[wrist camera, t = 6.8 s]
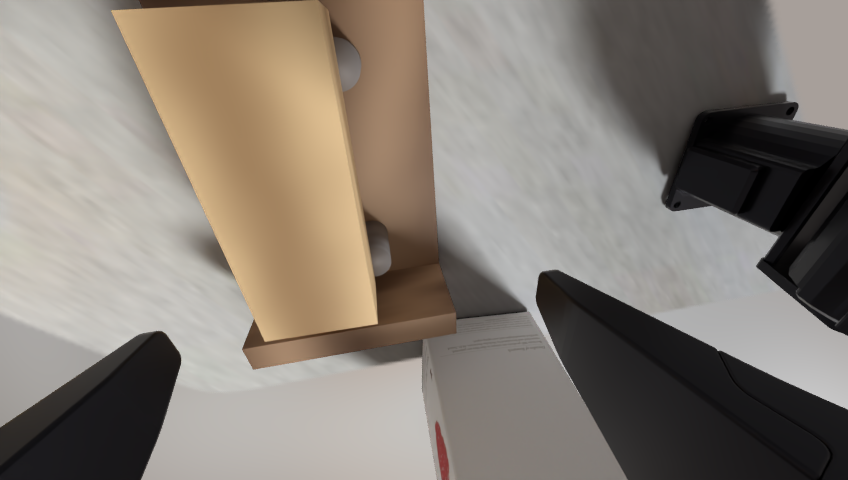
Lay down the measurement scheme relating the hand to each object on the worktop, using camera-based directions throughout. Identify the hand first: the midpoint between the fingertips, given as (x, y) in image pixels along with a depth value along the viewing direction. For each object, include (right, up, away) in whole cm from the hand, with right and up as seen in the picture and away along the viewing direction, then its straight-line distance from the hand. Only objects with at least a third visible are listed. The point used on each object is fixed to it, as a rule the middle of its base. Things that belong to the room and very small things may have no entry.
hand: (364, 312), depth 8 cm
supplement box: (+5, -8, +20) cm, 22 cm away
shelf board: (-4, +4, +6) cm, 8 cm away
